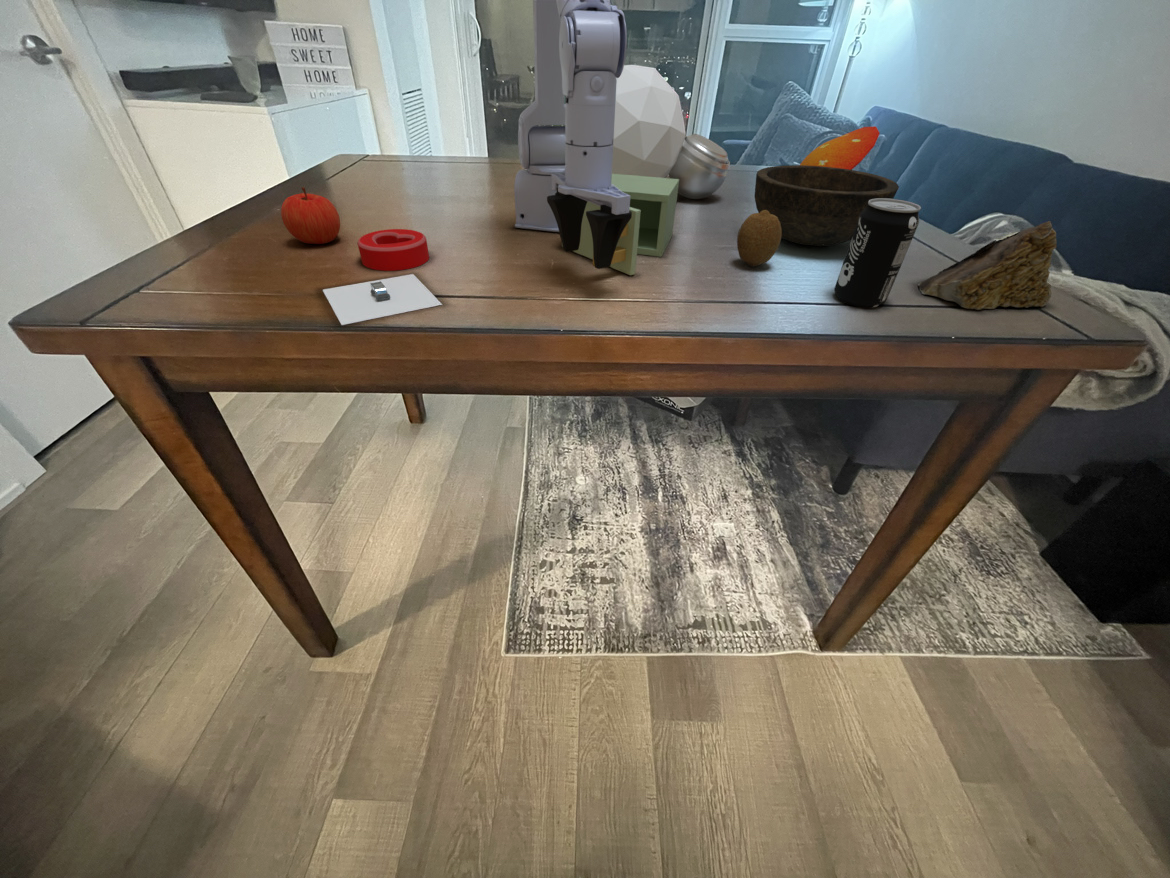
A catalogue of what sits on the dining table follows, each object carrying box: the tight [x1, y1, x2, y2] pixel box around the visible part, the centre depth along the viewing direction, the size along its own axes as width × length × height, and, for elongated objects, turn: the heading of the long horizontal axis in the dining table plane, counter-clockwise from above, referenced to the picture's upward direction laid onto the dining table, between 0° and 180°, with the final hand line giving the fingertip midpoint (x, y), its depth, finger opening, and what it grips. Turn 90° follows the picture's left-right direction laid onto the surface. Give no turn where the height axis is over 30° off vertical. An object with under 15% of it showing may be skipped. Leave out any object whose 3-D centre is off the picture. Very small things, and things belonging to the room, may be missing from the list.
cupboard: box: [611, 174, 679, 258], centre depth 82 cm, size 12×16×9 cm
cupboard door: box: [561, 201, 641, 276], centre depth 73 cm, size 6×16×9 cm, turn 40°
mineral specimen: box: [917, 220, 1058, 310], centre depth 69 cm, size 12×13×15 cm
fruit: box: [736, 210, 782, 267], centre depth 75 cm, size 6×6×8 cm
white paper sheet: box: [322, 273, 443, 326], centre depth 64 cm, size 12×12×2 cm
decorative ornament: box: [357, 228, 430, 272], centre depth 74 cm, size 10×10×3 cm
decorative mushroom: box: [799, 126, 880, 170], centre depth 102 cm, size 15×21×15 cm
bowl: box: [753, 164, 900, 247], centre depth 84 cm, size 22×22×10 cm
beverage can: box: [833, 198, 922, 309], centre depth 64 cm, size 7×7×12 cm
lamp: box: [612, 64, 731, 200], centre depth 104 cm, size 23×35×24 cm, turn 86°
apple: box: [280, 186, 341, 245], centre depth 78 cm, size 8×8×8 cm
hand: (586, 258), depth 68 cm, fingers open, 7 cm apart
